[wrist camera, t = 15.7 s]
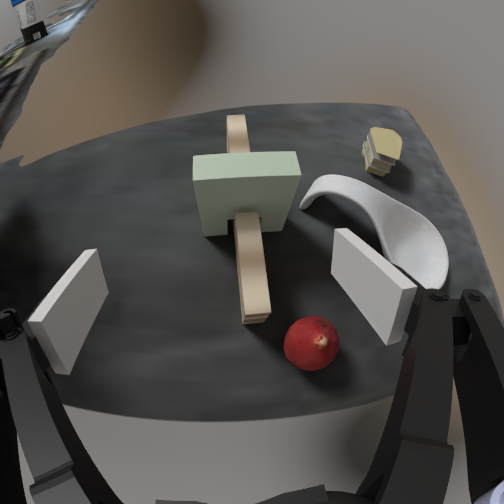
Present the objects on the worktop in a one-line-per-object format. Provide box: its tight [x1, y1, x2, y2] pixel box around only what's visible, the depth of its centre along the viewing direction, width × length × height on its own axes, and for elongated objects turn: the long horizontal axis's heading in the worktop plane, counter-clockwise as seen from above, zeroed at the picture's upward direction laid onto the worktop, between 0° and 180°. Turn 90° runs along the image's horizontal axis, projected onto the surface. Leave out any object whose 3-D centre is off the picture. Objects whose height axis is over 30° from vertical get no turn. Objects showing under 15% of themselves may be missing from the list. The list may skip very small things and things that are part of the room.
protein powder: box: [11, 0, 48, 44], centre depth 55 cm, size 10×24×30 cm, turn 69°
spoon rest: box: [300, 175, 449, 289], centre depth 34 cm, size 24×12×7 cm, turn 59°
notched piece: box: [193, 152, 301, 236], centre depth 31 cm, size 10×3×12 cm, turn 96°
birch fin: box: [227, 115, 271, 324], centre depth 34 cm, size 26×2×7 cm, turn 6°
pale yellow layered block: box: [362, 127, 402, 177], centre depth 41 cm, size 10×9×6 cm
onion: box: [284, 316, 339, 371], centre depth 28 cm, size 6×6×8 cm
